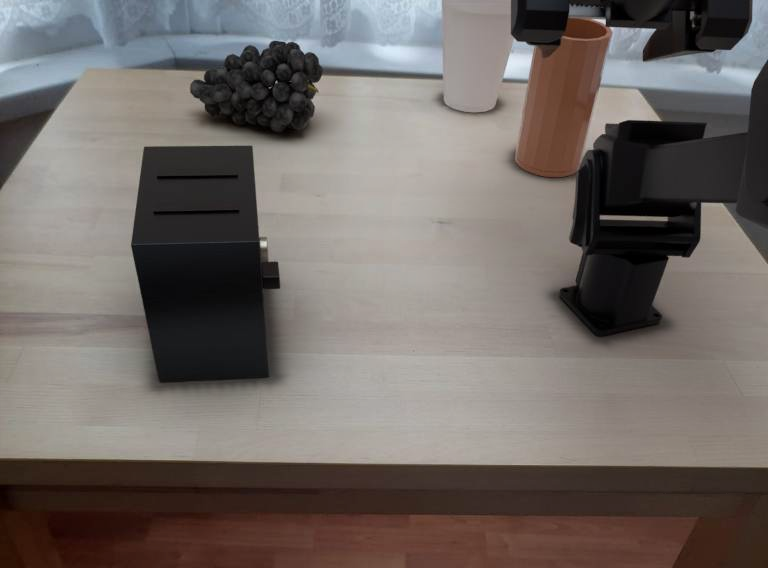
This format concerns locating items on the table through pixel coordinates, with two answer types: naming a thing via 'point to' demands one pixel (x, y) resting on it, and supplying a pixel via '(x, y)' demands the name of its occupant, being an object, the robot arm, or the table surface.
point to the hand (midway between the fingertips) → (594, 54)
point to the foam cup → (475, 52)
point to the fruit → (263, 87)
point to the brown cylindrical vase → (562, 100)
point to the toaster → (202, 262)
